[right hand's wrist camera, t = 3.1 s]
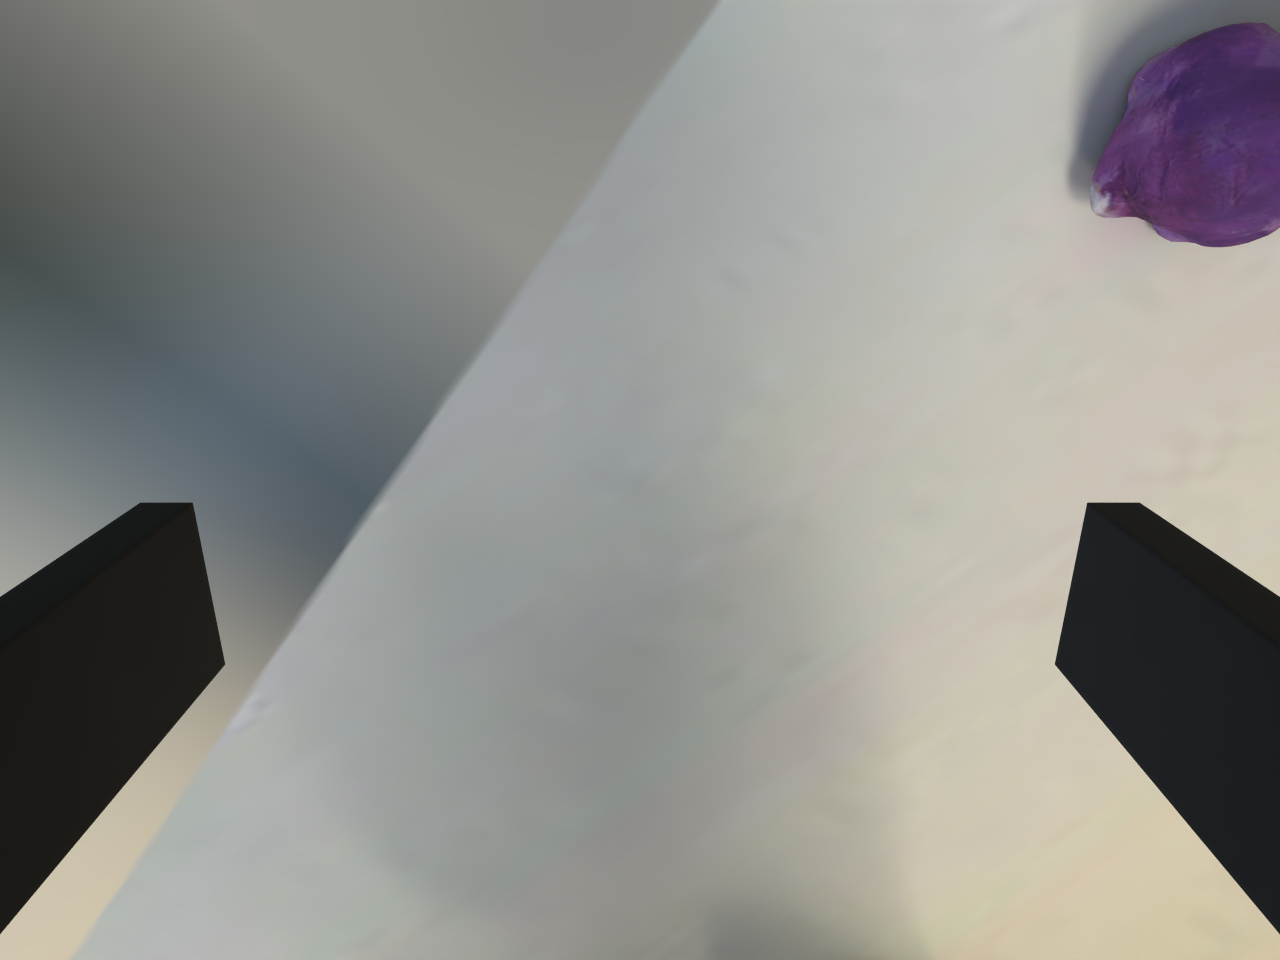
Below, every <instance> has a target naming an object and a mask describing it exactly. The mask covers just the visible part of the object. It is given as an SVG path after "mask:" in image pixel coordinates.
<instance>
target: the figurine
mask: <svg viewBox="0 0 1280 960" xmlns="http://www.w3.org/2000/svg"><path fill="white" fill-rule="evenodd" d="M1090 203H1091V209H1092V211H1093V212H1094V213H1095V214H1096V215H1097V216H1100V217H1105V218H1118V217H1138V218H1140V219H1143V220H1145V221H1148V222H1150V223H1152V225H1153V227H1154V229H1155V231H1156V232H1157V233H1158V235H1160V236H1161V237H1163V238H1165V239H1167V240H1169V241H1171V242H1191V243H1196V244H1199V245H1202V246H1207V247H1228V246H1235V245H1240V244H1244V243H1248V242H1251V241H1254V240H1256V239H1259V238H1262V237H1264V236H1267V235H1269V234H1271V233H1272V232H1274V231H1276V230H1277V229H1278V228H1280V34H1278V33H1277V32H1276V31H1275V30H1273V29H1272V28H1271V27H1270V26H1268V25H1266V24H1264V23H1241V24H1233V25H1228V26H1224V27H1220V28H1217V29H1214V30H1211V31H1209V32H1206V33H1203V34H1201V35H1198V36H1196V37H1194V38H1192V39H1190V40H1188V41H1186V42H1184V43H1182V44H1180V45H1177V46H1175V47H1172V48H1170V49H1167V50H1166V51H1164V52H1162V53H1160V54H1159V55H1157V56H1155V57H1153V58H1151V59H1150V60H1149V61H1148V62H1147V63H1146V64H1145V65H1144V66H1143V67H1142V68H1141V69H1140V70H1139V71H1138V72H1137V73H1136V75H1135V77H1134V80H1133V82H1132V85H1131V87H1130V90H1129V93H1128V97H1127V108H1126V110H1125V113H1124V116H1123V118H1122V120H1121V122H1120V123H1119V124H1118V126H1117V127H1116V129H1115V131H1114V132H1113V134H1112V135H1111V137H1110V139H1109V142H1108V144H1107V146H1106V148H1105V151H1104V153H1103V155H1102V157H1101V159H1100V161H1099V164H1098V166H1097V168H1096V170H1095V172H1094V175H1093V178H1092V181H1091V188H1090Z"/></svg>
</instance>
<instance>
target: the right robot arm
mask: <svg viewBox="0 0 1280 960" xmlns="http://www.w3.org/2000/svg"><path fill="white" fill-rule="evenodd" d="M224 665H225V661H224V656H223V651H222V646H221V641H220V636H219V632H218V627H217V622H216V617H215V612H214V607H213V602H212V597H211V592H210V587H209V582H208V577H207V572H206V567H205V562H204V557H203V552H202V547H201V542H200V537H199V532H198V527H197V522H196V517H195V512H194V507H193V503H139V504H138V505H136V506H135V507H133V508H132V509H130V510H129V511H127V512H126V513H124V514H123V515H121V516H120V517H118V518H117V519H116V520H114V521H113V522H111V523H110V524H108V525H107V526H105V527H104V528H102V529H101V530H99V531H98V532H96V533H95V534H93V535H92V536H90V537H89V538H87V539H86V540H84V541H83V542H81V543H80V544H78V545H77V546H75V547H74V548H72V549H71V550H69V551H68V552H66V553H65V554H63V555H62V556H60V557H59V558H57V559H56V560H54V561H53V562H51V563H50V564H49V565H47V566H46V567H44V568H43V569H41V570H40V571H38V572H37V573H35V574H34V575H32V576H31V577H29V578H28V579H26V580H25V581H23V582H22V583H20V584H19V585H17V586H16V587H14V588H13V589H11V590H10V591H8V592H7V593H5V594H4V595H2V596H1V597H0V934H1V932H2V931H3V930H4V929H5V928H6V926H7V925H8V924H9V923H10V922H11V920H12V919H13V918H14V917H15V916H16V915H17V913H18V912H19V911H20V910H21V908H22V907H23V906H24V905H25V904H26V903H27V901H28V900H29V899H30V898H31V896H32V895H33V894H34V893H35V892H36V891H37V889H38V888H39V887H40V886H41V884H42V883H43V882H44V881H45V880H46V878H47V877H48V876H49V875H50V874H51V873H52V871H53V870H54V869H55V868H56V867H57V865H58V864H59V863H60V862H61V861H62V859H63V858H64V857H65V856H66V855H67V853H68V852H69V851H70V850H71V848H72V847H73V846H74V845H75V844H76V842H77V841H78V840H79V839H80V838H81V837H82V835H83V834H84V833H85V832H86V831H87V829H88V828H89V827H90V826H91V825H92V823H93V822H94V821H95V820H96V819H97V817H98V816H99V815H100V814H101V813H102V811H103V810H104V809H105V808H106V807H107V805H108V804H109V803H110V802H111V801H112V799H113V798H114V797H115V796H116V795H117V793H118V792H119V791H120V790H121V789H122V787H123V786H124V785H125V784H126V783H127V781H128V780H129V779H130V778H131V777H132V775H133V774H134V773H135V772H136V771H137V769H138V768H139V767H140V766H141V765H142V763H143V762H144V761H145V760H146V759H147V757H148V756H149V755H150V754H151V753H152V751H153V750H154V749H155V748H156V747H157V745H158V744H159V743H160V742H161V741H162V739H163V738H164V737H165V736H166V735H167V733H168V732H169V731H170V730H171V729H172V727H173V726H174V725H175V724H176V723H177V721H178V720H179V719H180V718H181V717H182V715H183V714H184V713H185V712H186V711H187V709H188V708H189V707H190V706H191V705H192V703H193V702H194V701H195V700H196V699H197V697H198V696H199V695H200V694H201V693H202V691H203V690H204V689H205V688H206V687H207V685H208V684H209V683H210V682H211V681H212V679H213V678H214V677H215V676H216V675H217V674H218V672H219V671H220V670H221V669H222V667H223V666H224ZM1055 665H1056V666H1057V668H1058V669H1059V670H1060V671H1061V672H1062V674H1063V675H1064V676H1065V677H1066V678H1067V679H1068V681H1069V682H1070V683H1071V684H1072V685H1073V687H1074V688H1075V689H1076V690H1077V691H1078V693H1079V694H1080V695H1081V696H1082V697H1083V699H1084V700H1085V701H1086V702H1087V703H1088V705H1089V706H1090V707H1091V708H1092V709H1093V711H1094V712H1095V713H1096V714H1097V715H1098V717H1099V718H1100V719H1101V720H1102V721H1103V723H1104V724H1105V725H1106V726H1107V727H1108V729H1109V730H1110V731H1111V732H1112V733H1113V735H1114V736H1115V737H1116V738H1117V739H1118V741H1119V742H1120V743H1121V744H1122V745H1123V747H1124V748H1125V749H1126V750H1127V751H1128V753H1129V754H1130V755H1131V756H1132V757H1133V759H1134V760H1135V761H1136V762H1137V763H1138V765H1139V766H1140V767H1141V768H1142V769H1143V771H1144V772H1145V773H1146V774H1147V775H1148V777H1149V778H1150V779H1151V780H1152V781H1153V783H1154V784H1155V785H1156V786H1157V787H1158V789H1159V790H1160V791H1161V792H1162V793H1163V795H1164V796H1165V797H1166V798H1167V799H1168V801H1169V802H1170V803H1171V804H1172V805H1173V807H1174V808H1175V809H1176V810H1177V811H1178V813H1179V814H1180V815H1181V816H1182V817H1183V819H1184V820H1185V821H1186V822H1187V823H1188V825H1189V826H1190V827H1191V828H1192V829H1193V831H1194V832H1195V833H1196V834H1197V835H1198V837H1199V838H1200V839H1201V840H1202V841H1203V843H1204V844H1205V845H1206V846H1207V847H1208V849H1209V850H1210V851H1211V852H1212V853H1213V855H1214V856H1215V857H1216V858H1217V859H1218V861H1219V862H1220V863H1221V864H1222V865H1223V867H1224V868H1225V869H1226V870H1227V871H1228V873H1229V874H1230V875H1231V876H1232V877H1233V879H1234V880H1235V881H1236V882H1237V883H1238V885H1239V886H1240V887H1241V888H1242V889H1243V891H1244V892H1245V893H1246V894H1247V895H1248V897H1249V898H1250V899H1251V900H1252V901H1253V903H1254V904H1255V905H1256V906H1257V907H1258V909H1259V910H1260V911H1261V912H1262V913H1263V915H1264V916H1265V917H1266V918H1267V919H1268V920H1269V922H1270V923H1271V924H1272V925H1273V926H1274V928H1275V929H1276V930H1277V931H1278V932H1279V934H1280V597H1279V596H1278V595H1276V594H1275V593H1273V592H1272V591H1270V590H1269V589H1267V588H1266V587H1264V586H1263V585H1261V584H1260V583H1258V582H1257V581H1255V580H1254V579H1252V578H1251V577H1249V576H1248V575H1246V574H1245V573H1243V572H1242V571H1240V570H1239V569H1237V568H1236V567H1234V566H1233V565H1231V564H1230V563H1229V562H1227V561H1226V560H1224V559H1223V558H1221V557H1220V556H1218V555H1217V554H1215V553H1214V552H1212V551H1211V550H1209V549H1208V548H1206V547H1205V546H1203V545H1202V544H1200V543H1199V542H1197V541H1196V540H1194V539H1193V538H1191V537H1190V536H1188V535H1187V534H1185V533H1184V532H1182V531H1181V530H1179V529H1178V528H1176V527H1175V526H1173V525H1172V524H1170V523H1169V522H1168V521H1166V520H1165V519H1163V518H1162V517H1160V516H1159V515H1157V514H1156V513H1154V512H1153V511H1151V510H1150V509H1148V508H1147V507H1145V506H1144V505H1142V504H1141V503H1087V507H1086V512H1085V517H1084V522H1083V527H1082V532H1081V537H1080V542H1079V547H1078V552H1077V557H1076V562H1075V567H1074V572H1073V577H1072V582H1071V587H1070V592H1069V597H1068V602H1067V607H1066V612H1065V617H1064V622H1063V627H1062V631H1061V636H1060V641H1059V646H1058V651H1057V656H1056V661H1055Z"/></svg>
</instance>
